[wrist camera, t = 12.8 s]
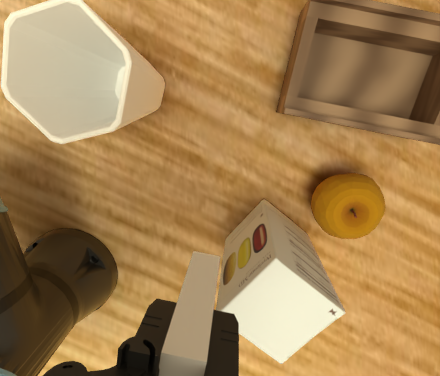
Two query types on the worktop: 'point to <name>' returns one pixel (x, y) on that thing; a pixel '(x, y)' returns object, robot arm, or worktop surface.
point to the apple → (348, 205)
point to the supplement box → (275, 283)
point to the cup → (74, 72)
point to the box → (366, 68)
